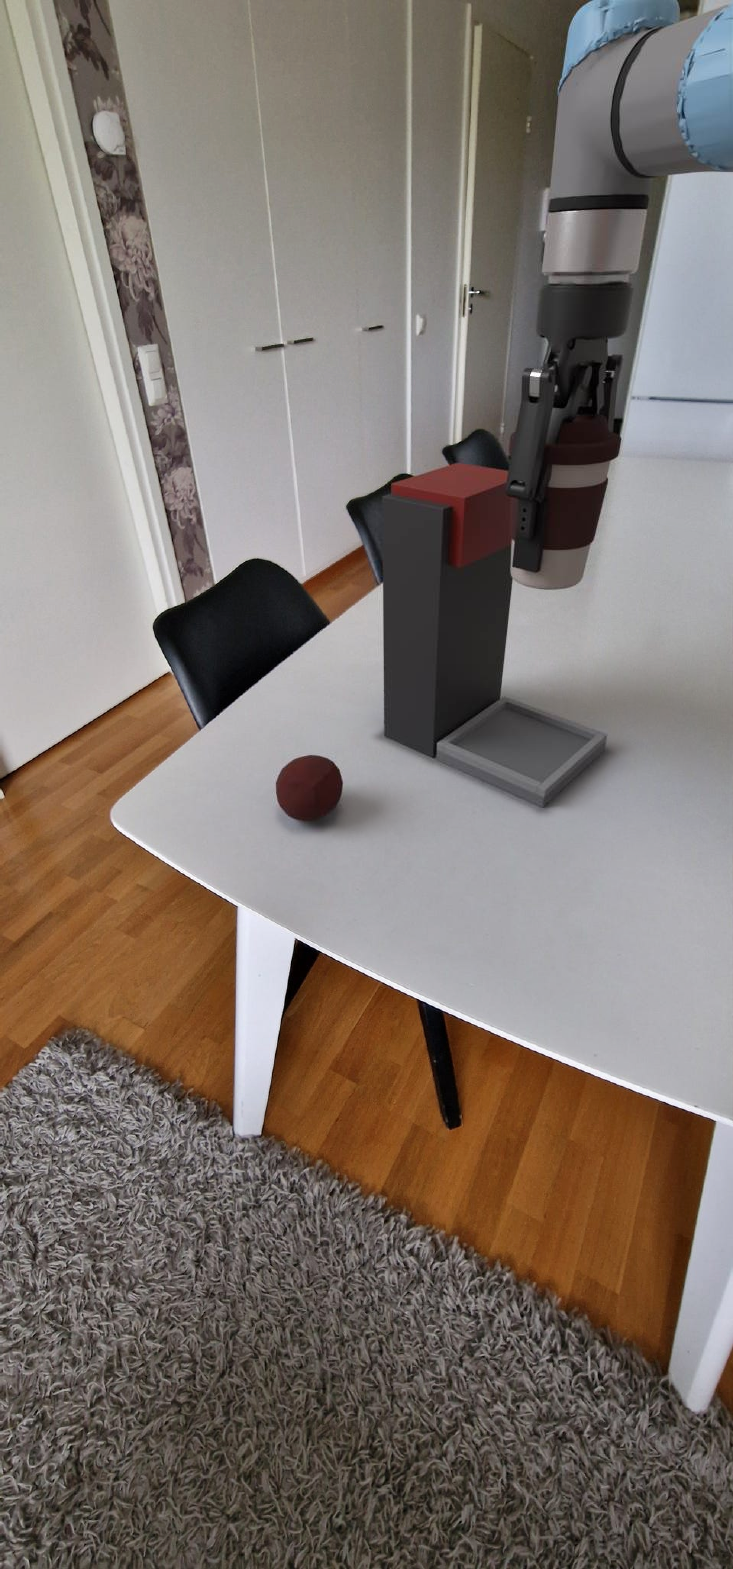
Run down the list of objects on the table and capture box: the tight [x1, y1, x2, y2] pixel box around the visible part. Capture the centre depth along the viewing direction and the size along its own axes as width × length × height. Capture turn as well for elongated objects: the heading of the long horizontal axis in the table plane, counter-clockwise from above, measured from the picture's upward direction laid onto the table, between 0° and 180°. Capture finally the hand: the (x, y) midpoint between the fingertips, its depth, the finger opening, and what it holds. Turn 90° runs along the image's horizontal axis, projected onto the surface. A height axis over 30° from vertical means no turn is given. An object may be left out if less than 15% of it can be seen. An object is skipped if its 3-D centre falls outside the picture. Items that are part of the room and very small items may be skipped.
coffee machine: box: [381, 462, 608, 808], centre depth 81 cm, size 24×15×31 cm, turn 49°
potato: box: [275, 754, 344, 822], centre depth 77 cm, size 7×8×7 cm
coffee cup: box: [508, 413, 622, 591], centre depth 68 cm, size 10×10×15 cm
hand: (549, 556), depth 71 cm, fingers closed on coffee cup, 8 cm apart
